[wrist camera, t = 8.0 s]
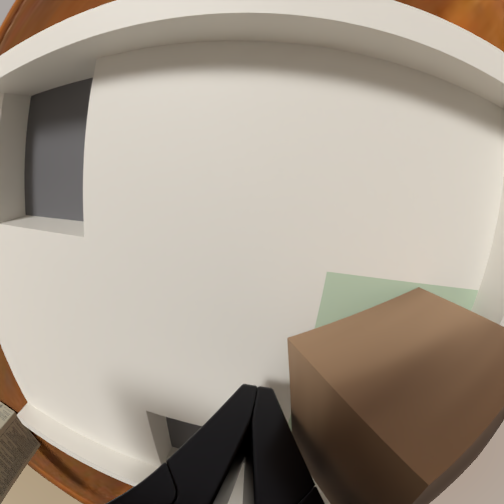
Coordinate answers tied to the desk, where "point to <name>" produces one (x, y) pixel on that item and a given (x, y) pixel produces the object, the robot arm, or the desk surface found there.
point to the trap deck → (230, 202)
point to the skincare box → (13, 448)
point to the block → (396, 398)
